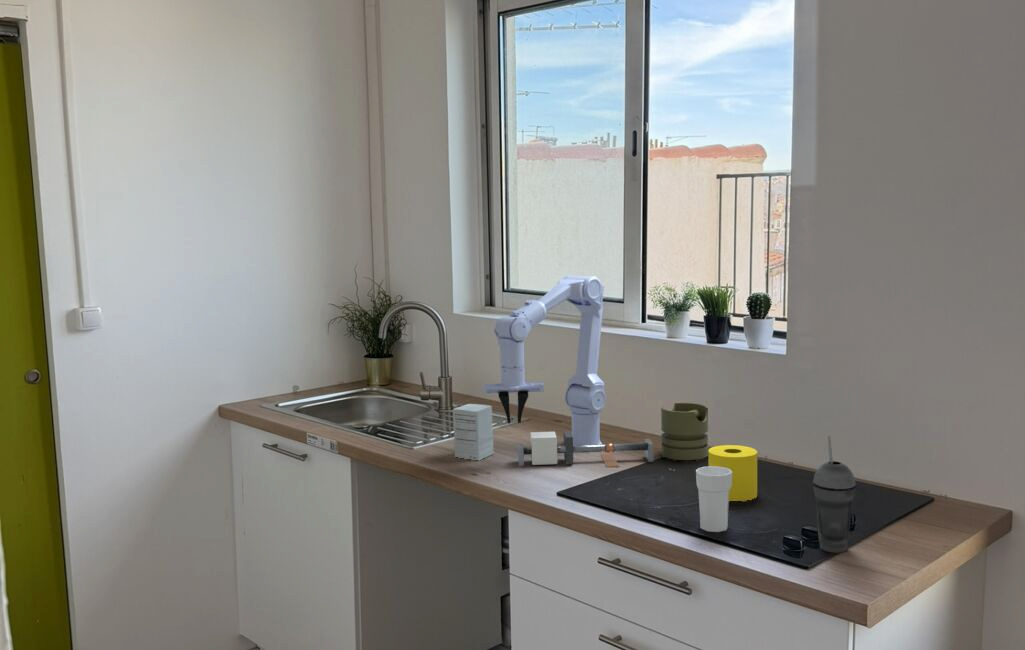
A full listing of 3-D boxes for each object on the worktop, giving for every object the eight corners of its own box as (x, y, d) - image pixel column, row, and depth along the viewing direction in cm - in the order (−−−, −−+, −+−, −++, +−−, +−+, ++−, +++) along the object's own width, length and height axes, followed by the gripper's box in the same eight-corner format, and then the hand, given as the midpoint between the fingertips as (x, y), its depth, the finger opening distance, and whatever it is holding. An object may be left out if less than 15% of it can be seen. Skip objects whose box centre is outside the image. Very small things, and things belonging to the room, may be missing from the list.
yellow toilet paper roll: (707, 487, 203) (707, 444, 202) (755, 488, 201) (755, 445, 200) (709, 501, 193) (709, 456, 192) (759, 502, 191) (759, 457, 190)
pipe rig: (519, 470, 220) (518, 451, 219) (517, 458, 231) (517, 440, 230) (655, 465, 221) (655, 446, 220) (647, 453, 232) (647, 435, 231)
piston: (717, 406, 228) (690, 414, 220) (717, 454, 230) (691, 463, 222) (678, 400, 236) (651, 408, 228) (678, 447, 238) (652, 455, 230)
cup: (692, 522, 180) (692, 467, 179) (725, 520, 180) (725, 465, 179) (701, 534, 173) (701, 476, 172) (736, 532, 174) (736, 475, 173)
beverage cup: (838, 558, 160) (840, 444, 157) (803, 547, 165) (804, 437, 163) (863, 548, 164) (865, 437, 161) (828, 537, 170) (829, 430, 167)
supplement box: (470, 451, 239) (468, 402, 238) (494, 454, 235) (493, 405, 234) (453, 458, 233) (451, 408, 231) (478, 461, 229) (476, 411, 228)
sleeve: (532, 464, 223) (531, 438, 222) (531, 458, 228) (530, 432, 228) (557, 463, 223) (556, 437, 222) (555, 457, 229) (554, 431, 228)
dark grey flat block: (566, 464, 222) (566, 437, 222) (564, 456, 229) (563, 430, 228) (573, 463, 222) (572, 437, 222) (570, 456, 229) (570, 430, 228)
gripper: (482, 370, 218) (484, 426, 220) (543, 368, 219) (545, 424, 220) (482, 365, 225) (483, 420, 227) (541, 363, 226) (543, 418, 227)
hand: (514, 422), depth 224 cm, fingers closed
